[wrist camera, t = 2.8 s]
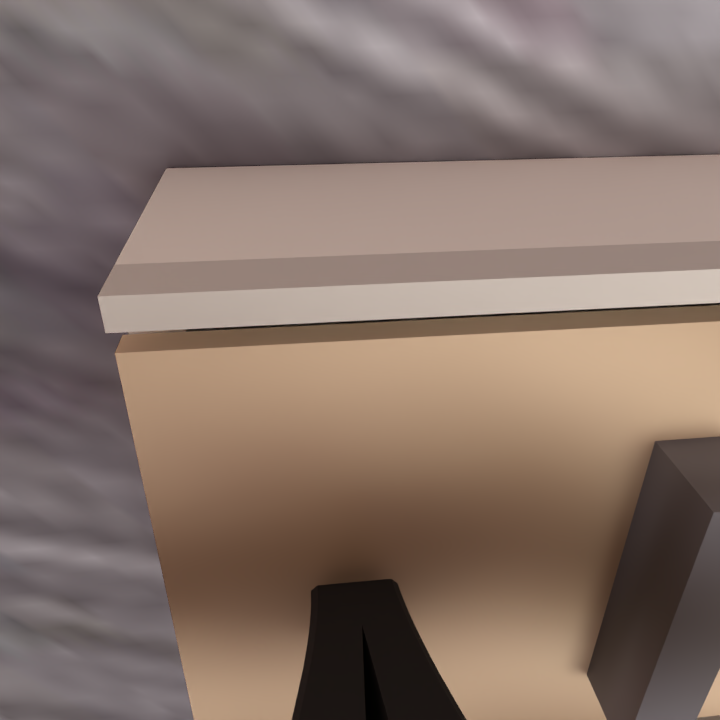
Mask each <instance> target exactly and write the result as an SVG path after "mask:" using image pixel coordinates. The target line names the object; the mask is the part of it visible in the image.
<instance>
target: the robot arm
mask: <svg viewBox="0 0 720 720" xmlns="http://www.w3.org/2000/svg"><path fill="white" fill-rule="evenodd" d="M292 720H467V719H466V718H465V716H464V715H463V713H462V711H461V710H460V708H459V706H458V704H457V703H456V701H455V699H454V697H453V696H452V694H451V692H450V691H449V689H448V687H447V685H446V684H445V682H444V680H443V678H442V677H441V675H440V673H439V671H438V669H437V668H436V666H435V664H434V662H433V660H432V658H431V656H430V655H429V653H428V651H427V649H426V647H425V645H424V643H423V641H422V639H421V637H420V635H419V633H418V631H417V629H416V626H415V624H414V622H413V620H412V618H411V616H410V613H409V611H408V609H407V606H406V604H405V602H404V599H403V597H402V594H401V592H400V589H399V586H398V583H397V582H395V581H394V580H392V579H382V580H371V581H360V582H349V583H338V584H327V585H317V586H316V587H315V588H314V589H313V590H311V614H310V626H309V635H308V642H307V648H306V654H305V660H304V666H303V671H302V676H301V680H300V685H299V689H298V694H297V698H296V703H295V707H294V712H293V716H292Z"/></svg>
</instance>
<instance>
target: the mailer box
mask: <svg viewBox="0 0 720 720" xmlns="http://www.w3.org/2000/svg"><path fill="white" fill-rule="evenodd" d="M97 297H98V301H99V306H100V310H101V315H102V319H103V324H104V328H105V333H121V332H128V334H129V335H131V334H151V333H171V332H191V331H211V330H231V329H251V328H271V327H291V326H311V325H331V324H351V323H371V322H391V321H411V320H431V319H451V318H471V317H491V316H510V315H530V314H550V313H570V312H590V311H610V310H630V309H650V308H670V307H690V306H710V305H720V154H719V155H679V156H639V157H599V158H559V159H520V160H480V161H440V162H400V163H360V164H320V165H280V166H240V167H200V168H166V170H165V172H164V174H163V175H162V177H161V179H160V181H159V183H158V185H157V187H156V188H155V190H154V192H153V194H152V196H151V198H150V200H149V201H148V203H147V205H146V207H145V209H144V211H143V213H142V215H141V216H140V218H139V220H138V222H137V224H136V226H135V228H134V229H133V231H132V233H131V235H130V237H129V239H128V241H127V242H126V244H125V246H124V248H123V250H122V252H121V254H120V255H119V257H118V259H117V261H116V263H115V265H114V267H113V269H112V270H111V272H110V274H109V276H108V278H107V280H106V282H105V283H104V285H103V287H102V289H101V291H100V293H99V295H98V296H97ZM696 720H720V715H716V716H708V717H699V718H697V719H696Z"/></svg>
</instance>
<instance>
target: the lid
mask: <svg viewBox="0 0 720 720" xmlns="http://www.w3.org/2000/svg"><path fill="white" fill-rule="evenodd" d="M115 356H116V361H117V365H118V370H119V374H120V379H121V384H122V388H123V393H124V398H125V402H126V407H127V411H128V416H129V421H130V425H131V430H132V435H133V439H134V444H135V448H136V453H137V458H138V462H139V467H140V472H141V476H142V481H143V486H144V490H145V495H146V499H147V504H148V509H149V513H150V518H151V523H152V527H153V532H154V536H155V541H156V546H157V550H158V555H159V560H160V564H161V569H162V574H163V578H164V583H165V587H166V592H167V597H168V601H169V606H170V611H171V615H172V620H173V624H174V629H175V634H176V638H177V643H178V648H179V652H180V657H181V662H182V666H183V671H184V675H185V680H186V685H187V689H188V694H189V699H190V703H191V708H192V712H193V717H194V720H292V716H293V712H294V707H295V703H296V698H297V694H298V689H299V685H300V680H301V676H302V671H303V666H304V660H305V654H306V648H307V642H308V635H309V626H310V614H311V590H313V589H314V588H315V587H316V586H317V585H327V584H338V583H349V582H360V581H371V580H382V579H392V580H394V581H395V582H397V583H398V586H399V589H400V592H401V594H402V597H403V599H404V602H405V604H406V606H407V609H408V611H409V613H410V616H411V618H412V620H413V622H414V624H415V626H416V629H417V631H418V633H419V635H420V637H421V639H422V641H423V643H424V645H425V647H426V649H427V651H428V653H429V655H430V656H431V658H432V660H433V662H434V664H435V666H436V668H437V669H438V671H439V673H440V675H441V677H442V678H443V680H444V682H445V684H446V685H447V687H448V689H449V691H450V692H451V694H452V696H453V697H454V699H455V701H456V703H457V704H458V706H459V708H460V710H461V711H462V713H463V715H464V716H465V718H466V719H467V720H696V719H697V718H699V717H708V716H716V715H720V305H710V306H690V307H670V308H650V309H630V310H610V311H590V312H570V313H550V314H530V315H510V316H491V317H471V318H451V319H431V320H411V321H391V322H371V323H351V324H331V325H311V326H291V327H271V328H251V329H231V330H211V331H191V332H171V333H151V334H131V335H122V337H121V340H120V342H119V345H118V347H117V349H116V352H115Z"/></svg>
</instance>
